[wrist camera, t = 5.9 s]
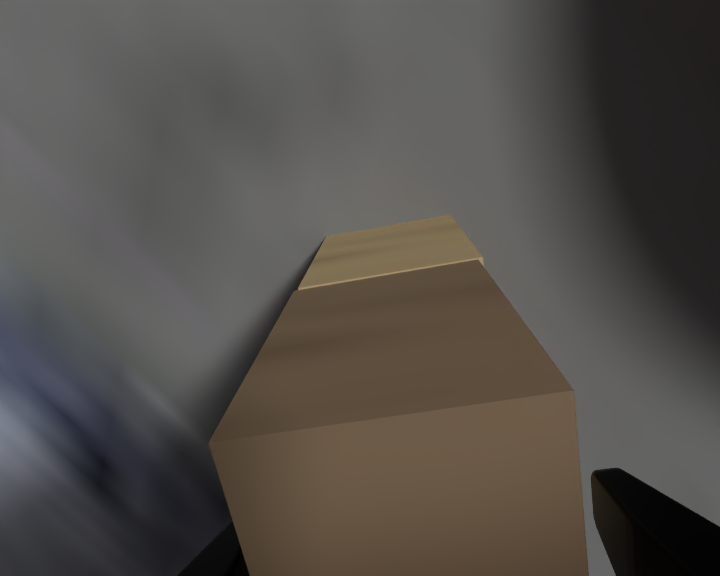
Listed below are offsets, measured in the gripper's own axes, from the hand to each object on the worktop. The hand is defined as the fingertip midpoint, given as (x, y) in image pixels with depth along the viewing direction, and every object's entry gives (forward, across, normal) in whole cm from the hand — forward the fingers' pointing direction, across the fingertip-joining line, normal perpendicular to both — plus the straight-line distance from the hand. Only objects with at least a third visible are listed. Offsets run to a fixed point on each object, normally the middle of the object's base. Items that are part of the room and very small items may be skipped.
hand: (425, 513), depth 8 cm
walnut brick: (+2, 0, 0) cm, 2 cm away
